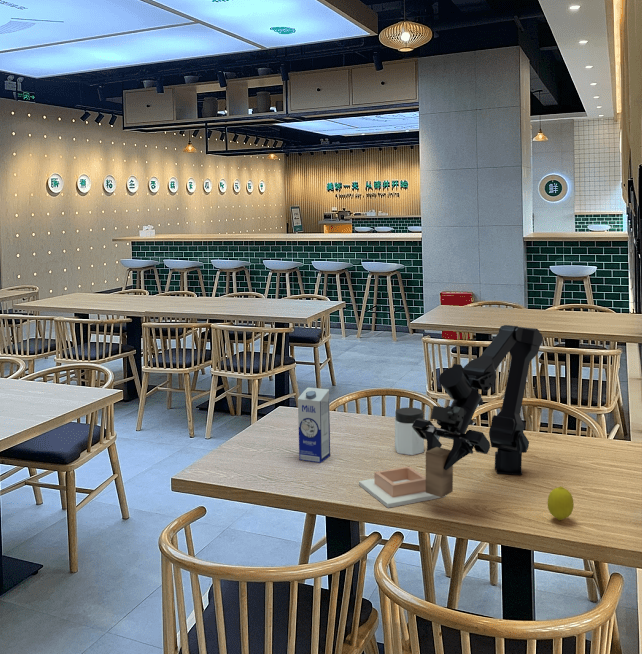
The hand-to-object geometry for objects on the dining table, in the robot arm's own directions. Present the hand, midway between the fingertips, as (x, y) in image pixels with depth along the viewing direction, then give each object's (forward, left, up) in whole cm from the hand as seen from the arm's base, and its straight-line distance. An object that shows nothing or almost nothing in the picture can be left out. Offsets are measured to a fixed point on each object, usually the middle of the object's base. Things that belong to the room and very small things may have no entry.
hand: (435, 466), depth 163 cm
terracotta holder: (+9, -11, -11) cm, 18 cm away
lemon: (-28, 0, -11) cm, 30 cm away
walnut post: (-1, -1, -7) cm, 7 cm away
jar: (+10, -42, -11) cm, 45 cm away
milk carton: (+36, -31, -11) cm, 49 cm away
